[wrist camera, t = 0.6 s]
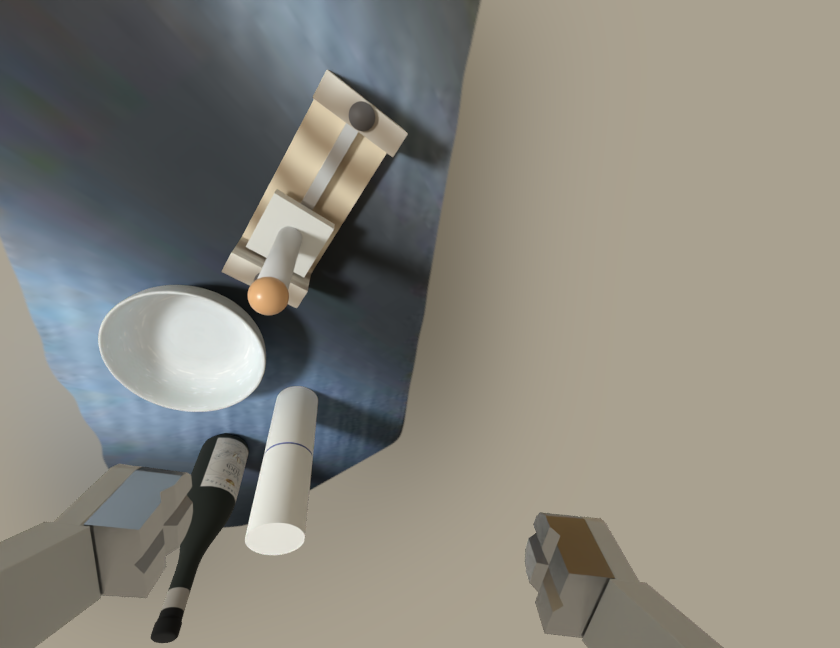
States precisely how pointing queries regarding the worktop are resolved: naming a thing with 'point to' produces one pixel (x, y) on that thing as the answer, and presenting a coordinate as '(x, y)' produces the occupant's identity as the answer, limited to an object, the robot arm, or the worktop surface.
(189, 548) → the wine bottle
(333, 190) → the rail
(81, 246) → the worktop surface
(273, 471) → the cylindrical container
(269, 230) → the carriage
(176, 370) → the serving bowl
